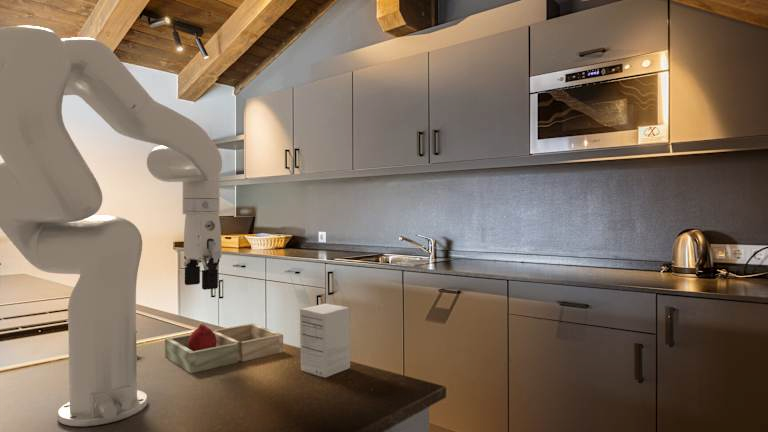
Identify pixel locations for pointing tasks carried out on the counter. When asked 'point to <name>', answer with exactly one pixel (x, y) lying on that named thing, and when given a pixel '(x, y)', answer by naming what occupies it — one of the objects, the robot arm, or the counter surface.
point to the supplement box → (325, 339)
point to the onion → (202, 339)
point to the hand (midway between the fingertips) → (200, 286)
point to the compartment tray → (225, 347)
